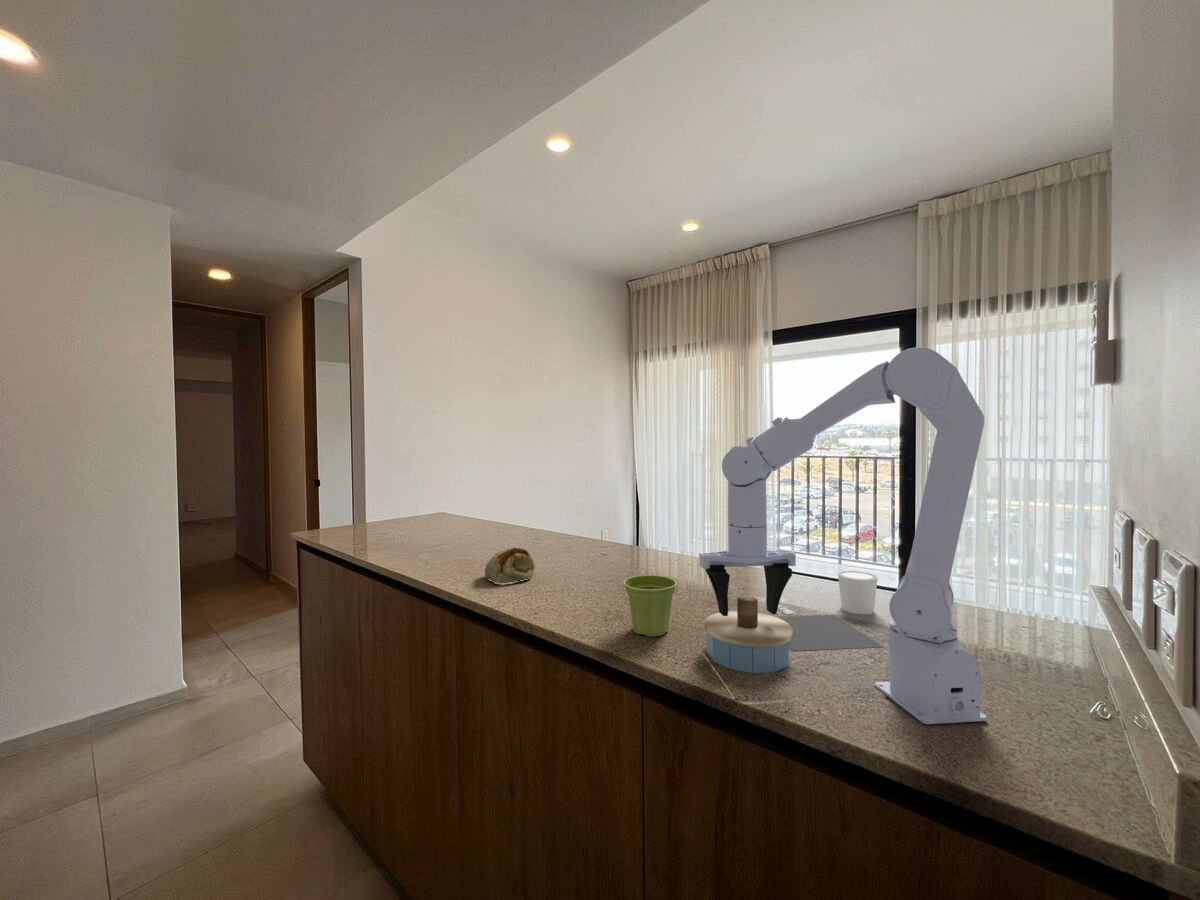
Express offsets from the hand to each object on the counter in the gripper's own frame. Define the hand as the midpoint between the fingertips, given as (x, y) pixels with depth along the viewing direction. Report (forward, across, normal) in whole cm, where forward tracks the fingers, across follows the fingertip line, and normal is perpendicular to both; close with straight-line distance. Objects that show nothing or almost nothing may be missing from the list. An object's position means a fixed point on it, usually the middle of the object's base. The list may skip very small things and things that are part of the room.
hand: (747, 613), depth 77 cm
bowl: (+7, 0, 0) cm, 7 cm away
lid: (+3, 0, 0) cm, 3 cm away
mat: (+7, -15, -8) cm, 18 cm away
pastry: (+7, +41, -50) cm, 65 cm away
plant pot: (+7, +13, -12) cm, 19 cm away
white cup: (+7, -29, -18) cm, 35 cm away
